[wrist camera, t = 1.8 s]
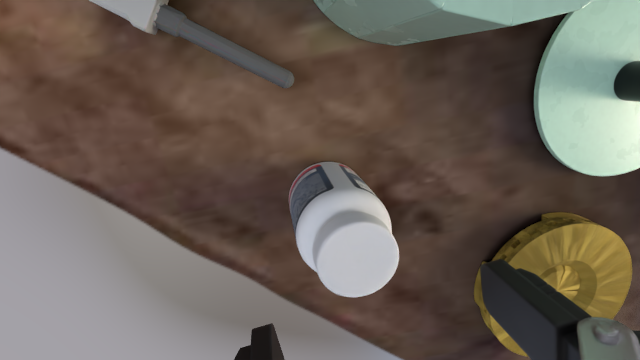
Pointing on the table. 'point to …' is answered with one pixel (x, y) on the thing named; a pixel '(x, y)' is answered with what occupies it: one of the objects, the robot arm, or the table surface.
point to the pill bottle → (342, 230)
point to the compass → (567, 266)
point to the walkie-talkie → (194, 35)
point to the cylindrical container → (436, 16)
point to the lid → (592, 89)
